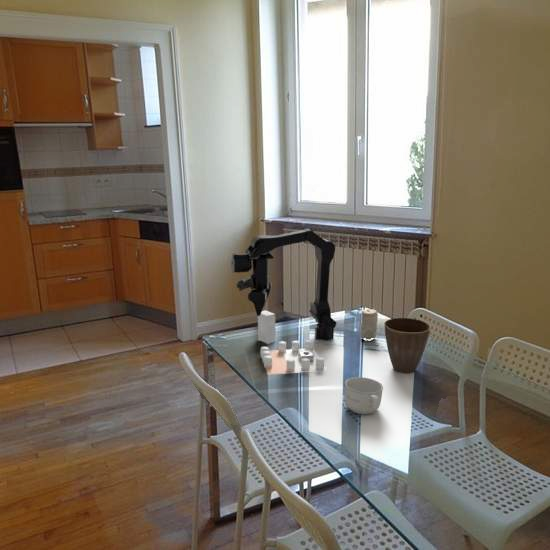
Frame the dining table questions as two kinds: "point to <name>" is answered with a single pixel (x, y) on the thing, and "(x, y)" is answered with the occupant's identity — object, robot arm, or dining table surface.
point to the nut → (306, 355)
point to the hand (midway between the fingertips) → (260, 311)
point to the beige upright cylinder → (368, 324)
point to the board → (290, 359)
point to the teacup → (363, 394)
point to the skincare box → (266, 327)
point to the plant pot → (406, 342)
